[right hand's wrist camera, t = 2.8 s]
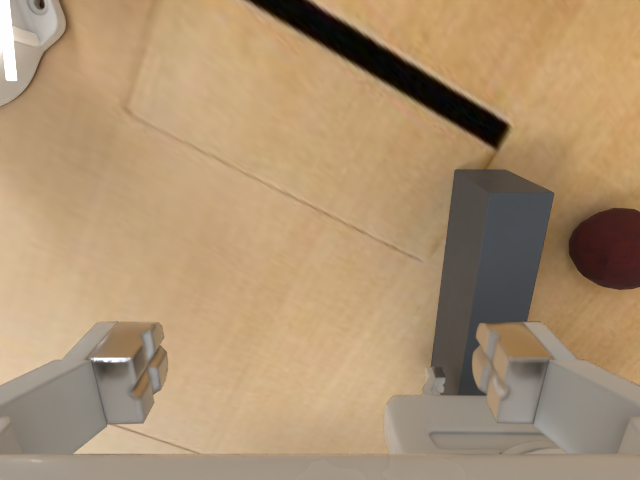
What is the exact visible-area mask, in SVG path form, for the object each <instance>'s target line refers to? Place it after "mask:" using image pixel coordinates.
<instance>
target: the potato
mask: <svg viewBox="0 0 640 480" xmlns="http://www.w3.org/2000/svg"><path fill="white" fill-rule="evenodd" d="M569 252H570V257H571V258H572V260H573V262H574V264H575V266H576V267H577V269H578V271H579V272H580V273H581V274H582V275H583V276H585V277H586V278H588V279H589V280H591V281H593V282H594V283H596V284H598V285H600V286H603V287H607V288H613V289H618V290H623V289H634V288H638V287H640V212H639V211H637V210H635V209H624V208H613V209H609V210H606V211H603V212H600V213H597V214H595V215H593V216H592V217H590V218H588V219H587V220H585V221H584V222H582V223H581V224H580V225H579V226H578V227H577V228H576V229H575V231H574V232H573V234H572V236H571V239H570V241H569Z"/></svg>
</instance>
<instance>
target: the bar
mask: <svg viewBox="0 0 640 480" xmlns="http://www.w3.org/2000/svg"><path fill="white" fill-rule="evenodd" d="M553 197H554V192H551V191H549V190H547V189H545V188H543V187H541V186H539V185H537V184H535V183H532V182H530V181H528V180H526V179H524V178H522V177H520V176H518V175H515V174H513V173H511V172H509V171H507V170H455V173H454V181H453V189H452V197H451V206H450V214H449V222H448V230H447V239H446V247H445V255H444V263H443V271H442V280H441V288H440V296H439V304H438V313H437V321H436V329H435V337H434V345H433V354H432V362H431V367H442V369H443V371H442V372H443V373H444V374H445V377H446V380H445V384H444V393H440V395H467V396H487V394H485V393H484V392H482V391H481V390H479V389H478V386H477V384H476V382H475V379H474V376H473V370H472V358H473V352H474V351H475V350H476V349H477V348H478V347H479V345H480V343H479V342H478V340H477V338H476V333H477V328H478V326H479V324H480V323H505V322H527V318H528V314H529V309H530V304H531V300H532V295H533V290H534V286H535V281H536V276H537V272H538V267H539V262H540V258H541V253H542V248H543V244H544V239H545V234H546V230H547V225H548V220H549V216H550V211H551V206H552V202H553Z"/></svg>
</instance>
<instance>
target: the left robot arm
mask: <svg viewBox="0 0 640 480" xmlns="http://www.w3.org/2000/svg"><path fill="white" fill-rule="evenodd" d="M442 371H443V369H442V367H426V368H425V375H424V379H425V385H424V387H423V389H422V395H394V396H393V397H392V398H391V399H390V400H389V401H388V402H387V403H386V405H385V410H384V436H385V441H386V445H387V449H388V452H389V454H567V453H566V452H565V451H563V450H562V449H561V448H560V447H558V446H557V445H556V444H555V443H553V442H552V441H551V440H550V439H549V438H547V437H546V436H545V435H544V434H542V433H541V432H540V431H539V430H537V429H536V428H535V427H534V426H533V424H500V423H496V421H495V419H494V417H493V415H492V413H491V412H490V410H489V408H488V406H487V404H486V398H487V396H467V395H440V394H439V393H444V384H445V380H446V377H445V374H444V373H443V372H442Z"/></svg>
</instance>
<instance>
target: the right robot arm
mask: <svg viewBox="0 0 640 480" xmlns="http://www.w3.org/2000/svg"><path fill="white" fill-rule="evenodd" d="M43 1H44V3H45V7H44V8H43V9H41V7H40V4H39V3H40V0H0V106H2V105H5V104H7V103H9V102H10V101H12V100H14V99H15V98H16V97H18V96H19V95H20V94H21V93H22V92H23V91H24V90H25V89H26V87H27V86H28V85H29V83H30V82H31V80H32V78H33V76H34V74H35V72H36V69H37V66H38V64H39V61H40V59H41V57H42V55H43V53H44V52H45V50H47V49H48V48H49V47H50V46H51V45H53V44H54V43H55V42H56V41H57V40H58V39H59V38H60V37H61V36H62V35H63V33H64V31H65V29H66V19H65V16H64V13H63V10H62V8H61V5H60V2H59V0H43ZM163 338H164V333H163V328H162V325H161V324H160V323H159V322H118V321H114V322H98V323H96V324H95V325H94V326H93V327H92V328H91V329H90V330H89V331H88V332H87V333H86V335H85V336H84V337H83V338H82V339H81V340H80V341H79V342H78V343H77V344H76V345H75V346H74V347H73V348H72V349H71V350H70V351H69V353H68V354H67V355H66V356H65V357H64V358H63V359H62V360H54V361H52V362H49V363H47V364H45V365H43V366H41V367H39V368H37V369H34V370H32V371H30V372H28V373H26V374H24V375H22V376H20V377H17V378H15V379H13V380H11V381H9V382H7V383H5V384H2V385H0V480H640V385H637V384H635V383H633V382H631V381H629V380H627V379H625V378H623V377H620V376H618V375H616V374H614V373H612V372H610V371H608V370H605V369H603V368H601V367H599V366H597V365H595V364H593V363H591V362H588V361H586V360H578V359H577V358H576V357H575V356H574V355H573V354H572V353H571V351H570V350H569V349H568V348H567V347H566V346H565V345H564V344H563V343H562V342H561V341H560V340H559V339H558V338H557V337H556V336H555V334H554V333H553V332H552V331H551V330H550V329H549V328H548V327H547V326H546V325H545V324H544V323H542V322H540V321H533V322H505V323H480V324H479V326H478V328H477V333H476V338H477V340H478V342H479V343H480V345H479V347H478V348H477V349H476V350H475V351H474V352H473V358H472V370H473V376H474V379H475V382H476V384H477V386H478V389H479V390H481V391H482V392H484V393H485V394H487V398H486V404H487V406H488V408H489V410H490V412H491V413H492V415H493V417H494V419H495V421H496V423H500V424H533V426H534V427H535V428H536V429H537V430H539V431H540V432H541V433H542V434H544V435H545V436H546V437H547V438H549V439H550V440H551V441H552V442H553V443H555V444H556V445H557V446H558V447H560V448H561V449H562V450H563V451H565V452H566V453H567V454H73V453H74V452H76V451H77V450H78V449H79V448H80V447H82V446H83V445H84V444H85V443H87V442H88V441H89V440H90V439H92V438H93V437H94V436H95V435H97V434H98V433H99V432H100V431H102V430H103V429H104V428H105V427H107V425H106V424H139V423H144V421H145V419H146V417H147V415H148V413H149V412H150V410H151V408H152V406H153V404H154V398H153V394H155V393H156V392H158V391H159V390H161V389H162V386H163V384H164V382H165V380H166V375H167V371H168V357H167V352H166V351H165V350H164V349H163V348H162V347H161V345H160V344H161V342H162V340H163Z"/></svg>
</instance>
